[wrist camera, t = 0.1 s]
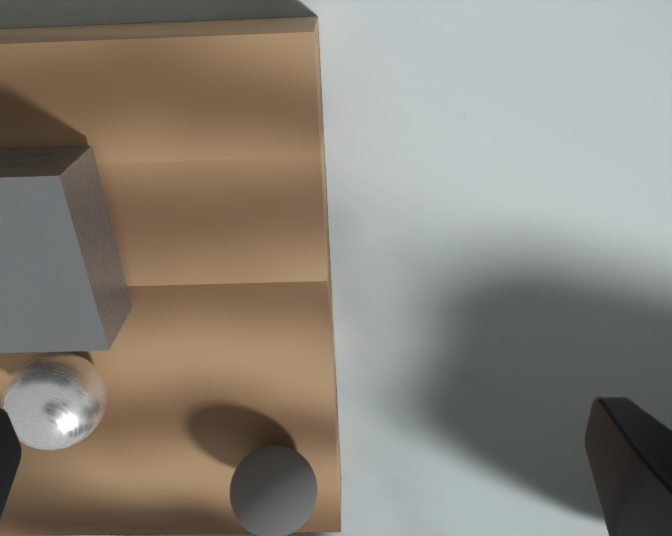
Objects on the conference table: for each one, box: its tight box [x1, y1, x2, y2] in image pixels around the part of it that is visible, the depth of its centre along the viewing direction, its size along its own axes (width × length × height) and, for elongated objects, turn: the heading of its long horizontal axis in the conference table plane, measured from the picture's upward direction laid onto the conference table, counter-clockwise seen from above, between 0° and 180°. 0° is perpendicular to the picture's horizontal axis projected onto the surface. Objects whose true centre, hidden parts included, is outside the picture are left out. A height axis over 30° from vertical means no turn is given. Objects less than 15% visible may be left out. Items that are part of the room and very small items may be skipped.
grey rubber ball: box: [229, 445, 317, 536], centre depth 24 cm, size 4×4×4 cm
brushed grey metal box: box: [0, 145, 132, 353], centre depth 19 cm, size 6×6×2 cm
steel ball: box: [1, 352, 107, 450], centre depth 22 cm, size 4×4×4 cm
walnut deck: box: [0, 16, 341, 536], centre depth 25 cm, size 22×20×3 cm
